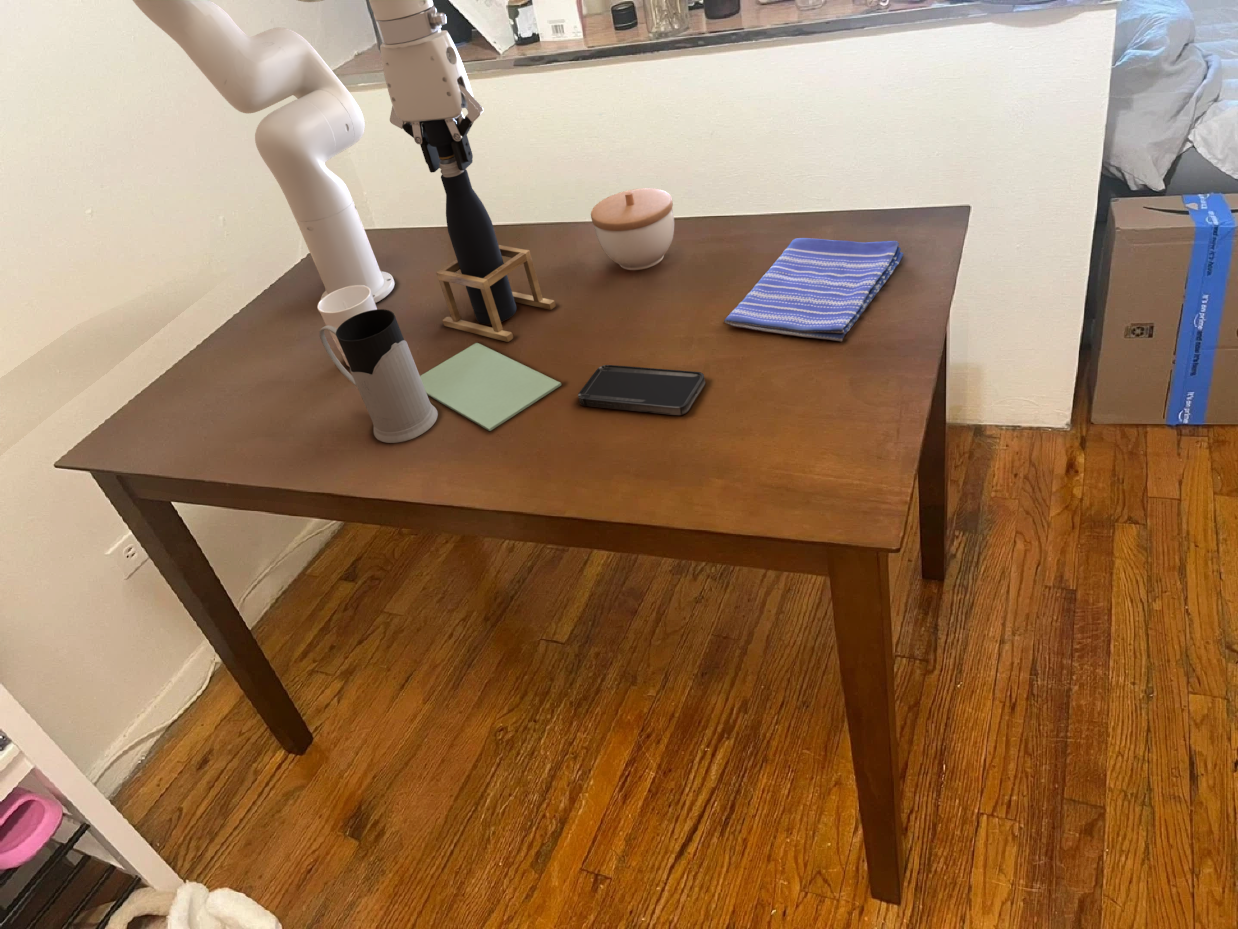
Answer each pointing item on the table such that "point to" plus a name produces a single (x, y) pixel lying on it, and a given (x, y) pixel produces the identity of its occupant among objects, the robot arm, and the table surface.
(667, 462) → the table surface
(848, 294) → the dish towel
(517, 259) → the bottle stand
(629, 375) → the phone
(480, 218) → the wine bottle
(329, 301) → the white cup
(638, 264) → the lidded bowl
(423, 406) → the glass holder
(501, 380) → the mat
